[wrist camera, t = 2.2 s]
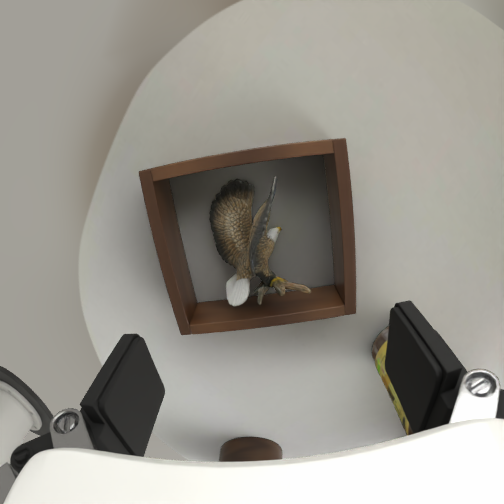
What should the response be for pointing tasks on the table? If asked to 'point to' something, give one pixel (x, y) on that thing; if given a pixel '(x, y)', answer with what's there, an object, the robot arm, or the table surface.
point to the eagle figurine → (246, 241)
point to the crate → (273, 306)
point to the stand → (250, 450)
